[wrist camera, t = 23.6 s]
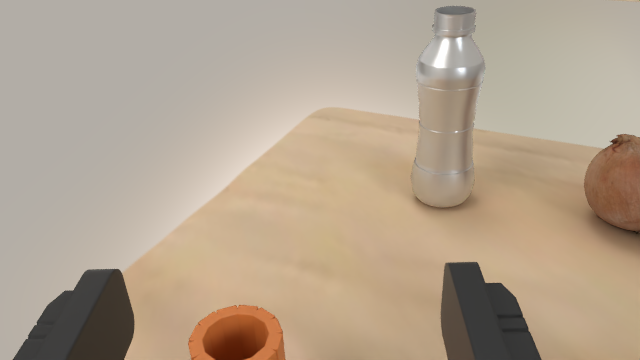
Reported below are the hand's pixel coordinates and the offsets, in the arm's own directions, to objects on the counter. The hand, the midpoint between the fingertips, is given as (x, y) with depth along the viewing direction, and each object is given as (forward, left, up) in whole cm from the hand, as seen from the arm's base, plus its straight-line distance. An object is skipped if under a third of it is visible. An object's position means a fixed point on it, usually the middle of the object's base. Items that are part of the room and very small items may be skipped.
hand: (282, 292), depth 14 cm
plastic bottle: (-40, -16, -23) cm, 49 cm away
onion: (-47, +1, -23) cm, 52 cm away
